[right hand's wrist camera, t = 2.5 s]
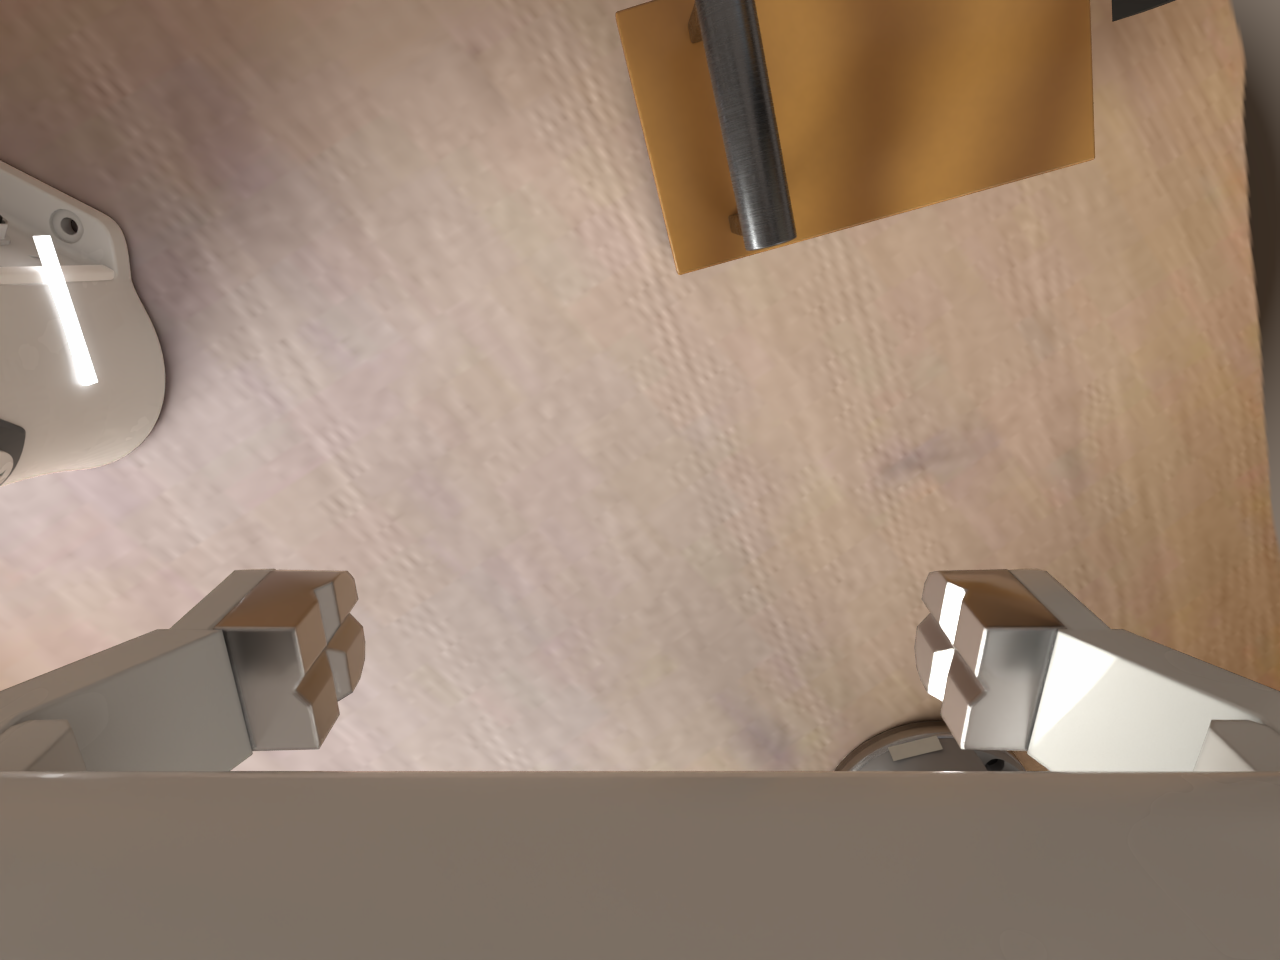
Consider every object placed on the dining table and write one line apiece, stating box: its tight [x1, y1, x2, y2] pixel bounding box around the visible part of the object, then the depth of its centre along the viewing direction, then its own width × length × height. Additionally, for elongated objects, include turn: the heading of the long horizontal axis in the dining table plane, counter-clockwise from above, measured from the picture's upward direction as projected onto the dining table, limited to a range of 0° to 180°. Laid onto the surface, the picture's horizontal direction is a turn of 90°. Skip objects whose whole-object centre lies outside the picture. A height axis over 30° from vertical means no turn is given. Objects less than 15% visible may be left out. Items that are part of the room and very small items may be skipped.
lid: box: [616, 0, 1095, 275], centre depth 24 cm, size 17×10×8 cm, turn 105°
